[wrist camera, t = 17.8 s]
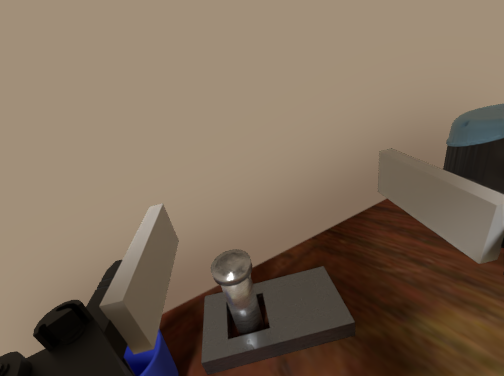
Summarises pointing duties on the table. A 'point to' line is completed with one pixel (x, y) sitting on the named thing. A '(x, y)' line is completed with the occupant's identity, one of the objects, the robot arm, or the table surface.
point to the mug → (152, 360)
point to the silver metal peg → (238, 289)
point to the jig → (277, 321)
